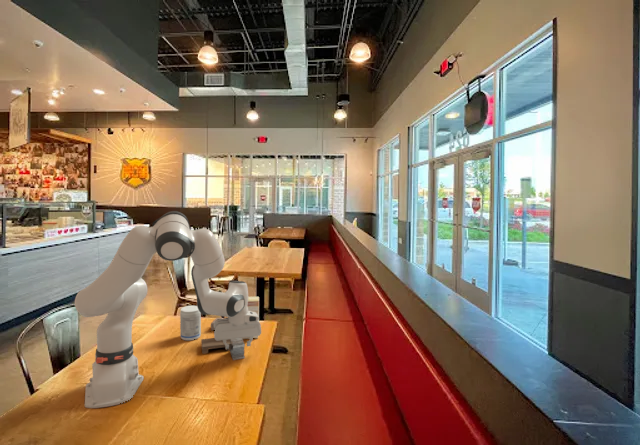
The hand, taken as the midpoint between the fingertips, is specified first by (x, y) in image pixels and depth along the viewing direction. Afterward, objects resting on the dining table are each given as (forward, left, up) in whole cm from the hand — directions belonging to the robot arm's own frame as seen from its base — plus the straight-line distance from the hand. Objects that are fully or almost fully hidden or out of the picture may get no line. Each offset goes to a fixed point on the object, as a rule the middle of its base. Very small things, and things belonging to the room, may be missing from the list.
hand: (238, 347), depth 157 cm
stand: (+11, +8, -4) cm, 14 cm away
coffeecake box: (+20, -6, -4) cm, 21 cm away
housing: (+1, 0, -4) cm, 4 cm away
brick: (+32, 0, -4) cm, 33 cm away
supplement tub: (+27, +19, -4) cm, 33 cm away
